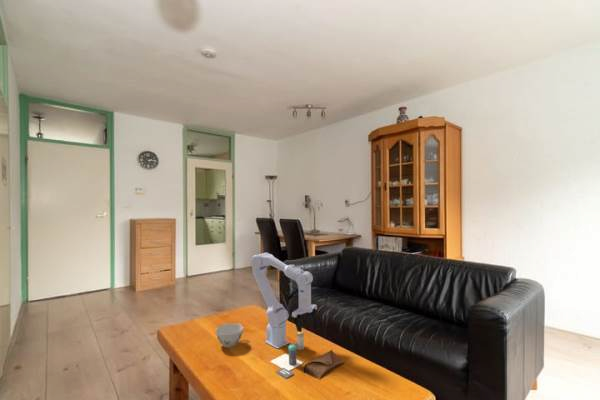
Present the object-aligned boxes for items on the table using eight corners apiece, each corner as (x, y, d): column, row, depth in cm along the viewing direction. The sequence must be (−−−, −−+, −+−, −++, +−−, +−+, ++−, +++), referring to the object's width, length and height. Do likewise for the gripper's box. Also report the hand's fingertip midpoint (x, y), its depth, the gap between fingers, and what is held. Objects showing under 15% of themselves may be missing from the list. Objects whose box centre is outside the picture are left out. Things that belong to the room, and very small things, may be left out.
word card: (276, 372, 118) (276, 371, 118) (283, 368, 121) (283, 367, 121) (286, 378, 114) (286, 377, 114) (293, 374, 116) (293, 373, 116)
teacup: (228, 354, 133) (228, 336, 133) (210, 346, 140) (210, 329, 140) (251, 341, 145) (251, 324, 145) (233, 335, 152) (233, 319, 152)
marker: (286, 363, 124) (286, 346, 124) (292, 360, 126) (292, 343, 127) (292, 366, 122) (292, 349, 122) (298, 363, 124) (298, 346, 124)
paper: (270, 361, 126) (270, 361, 126) (285, 354, 132) (285, 353, 132) (287, 372, 118) (287, 371, 118) (303, 363, 125) (303, 362, 125)
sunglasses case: (319, 380, 112) (312, 362, 115) (307, 383, 116) (301, 365, 119) (346, 362, 125) (339, 345, 128) (335, 365, 129) (328, 349, 132)
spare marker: (295, 348, 138) (295, 332, 138) (300, 345, 140) (300, 330, 140) (300, 350, 135) (300, 335, 135) (305, 348, 138) (305, 332, 138)
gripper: (299, 304, 128) (300, 336, 128) (321, 297, 138) (322, 326, 138) (288, 301, 133) (288, 331, 133) (310, 293, 143) (310, 322, 143)
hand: (305, 328), depth 136 cm, fingers open, 7 cm apart
